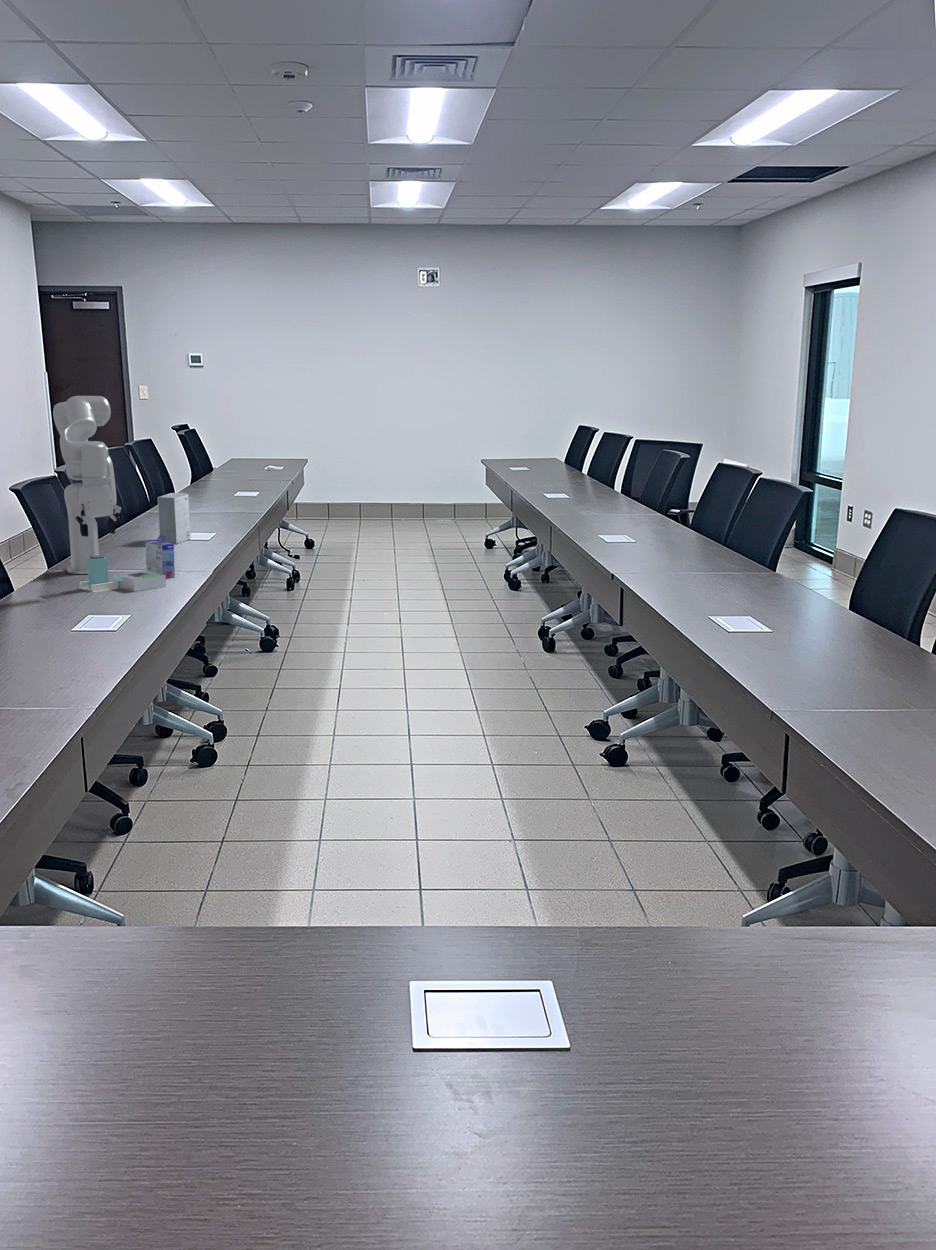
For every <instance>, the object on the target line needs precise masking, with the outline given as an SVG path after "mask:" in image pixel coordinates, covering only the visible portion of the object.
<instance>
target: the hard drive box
mask: <svg viewBox="0 0 936 1250" xmlns="http://www.w3.org/2000/svg"><path fill="white" fill-rule="evenodd" d="M157 511H158V513H157V514H158V515H157V516H158V529H159V535H162V536H166V538H165V540H164V542H167V543H173V544H174V545H178V544H181V543H183V542H186V541H189V540H190V539H191V534H192V533H191V521H190V505H189V494H188V493H187V492H183V493H181V492H171V493H167V494H164V495H161V496H157ZM160 539H161V540H163V539H164V538H162V537H161V538H160ZM188 539H189V540H188ZM180 542H181V543H180ZM177 543H178V544H177Z"/></svg>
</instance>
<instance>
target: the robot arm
mask: <svg viewBox="0 0 936 1250" xmlns="http://www.w3.org/2000/svg"><path fill="white" fill-rule="evenodd" d="M52 410H53V411H52V414H53V416H52V417H53V421H54V424H55V427H56V430H57V431H58V434H59V436H60V437H59V445H60V446H59V447H60V451H61V456H62V459H63V461H64V464H65V465H64V466H65V472H66V475H67V477H68V478H69V479H70V480H75V481H82V482H80V483H79V482H78V483H72V484H69V485H67V486H66V487H65V488H64V492H63V497H64V503H65V506H66V511H67V518H68V519H67V520H68V532H69V533H68V534H69V543H70V546H69V548H70V559H69V560H68V562H69V563H70V564H71V566H70V567H67V568H66V569H67V570H66V571H67V573H68V574H69V573H70V574H74V575H88V566H87V558H90V556H95V555H100V550H99V548H100V547H99V534H98V521H96V518H104V517H105V518H107V519H108V520H107V522H106V523H107V532H108V534H113V535H114V534H116V522H117V520H118V518H119V517H120V513H121V512H122V506H119V505H117V499H118V498H117V489H116V480H115V471H114V464H113V460H112V458H111V456H110V455H109V448H108V446H107V445H106V443H104V442H103V441H97V440H94V441H93V440H89V438H91V437H93V436H94V435H95V434H96V431H97V429H98V428H97V427H103V426H105V425H106V424H107V423H108V421H109V420H110V418H111V415H112V413H111V411H112V410H111V405H110V402H109V401H108V399H107V398H106V397H104V396H101V395H75V396H71V397H70V398H68V399H67V400H66V401H63V402H58V403H56V404H55V405H54V406H53V409H52Z"/></svg>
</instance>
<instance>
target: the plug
mask: <svg viewBox="0 0 936 1250" xmlns="http://www.w3.org/2000/svg"><path fill="white" fill-rule="evenodd" d="M87 566H88V574H87V581H88V582H89V588H91V586H90V585H94V584H101V583H108V582H109V572H108V557H105V556H104V555H100V554H99V555H95V556H90V558H87Z"/></svg>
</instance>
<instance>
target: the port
mask: <svg viewBox="0 0 936 1250" xmlns="http://www.w3.org/2000/svg"><path fill="white" fill-rule="evenodd" d="M115 581H116V582H117V585H118V588H119V589H122V590H127V591H130V592H142V591H147V590H156V589H162V588H166V587H167V583H166V581H167V578H166V576H165V575H164V574H160V573H155V572H151V571H147V570H146V569H143V570H135V571H129V572H122V573H115V574H113V582H115Z"/></svg>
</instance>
